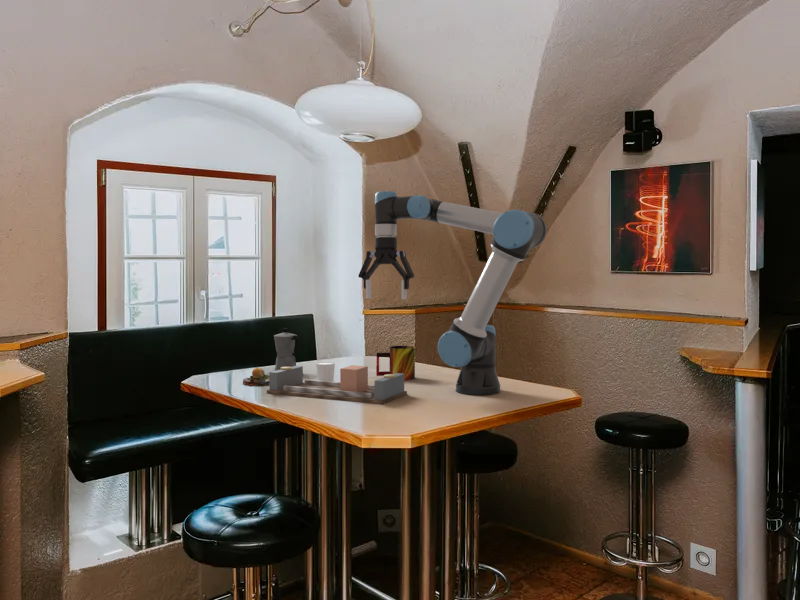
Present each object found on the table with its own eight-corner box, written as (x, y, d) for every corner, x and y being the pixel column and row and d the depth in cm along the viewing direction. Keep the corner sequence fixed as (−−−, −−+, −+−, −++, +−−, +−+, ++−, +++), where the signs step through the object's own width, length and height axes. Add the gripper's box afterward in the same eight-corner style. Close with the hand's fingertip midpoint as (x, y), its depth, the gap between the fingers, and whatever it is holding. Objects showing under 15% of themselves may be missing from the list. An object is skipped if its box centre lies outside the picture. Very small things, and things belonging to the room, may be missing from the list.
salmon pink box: (367, 390, 232) (367, 366, 231) (356, 394, 224) (356, 369, 224) (352, 388, 234) (352, 365, 234) (340, 392, 227) (340, 368, 227)
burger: (282, 382, 255) (282, 362, 255) (262, 387, 245) (262, 366, 244) (256, 380, 261) (256, 360, 260) (235, 385, 250) (235, 364, 250)
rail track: (406, 394, 231) (406, 386, 231) (383, 404, 215) (383, 396, 215) (296, 384, 250) (296, 377, 250) (266, 393, 233) (266, 385, 233)
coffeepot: (266, 371, 279) (266, 327, 278) (286, 369, 285) (286, 326, 284) (288, 376, 267) (287, 330, 266) (308, 373, 274) (307, 328, 273)
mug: (375, 378, 262) (375, 347, 262) (406, 375, 270) (406, 345, 269) (388, 382, 254) (388, 350, 254) (419, 379, 261) (419, 347, 261)
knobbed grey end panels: (405, 391, 230) (405, 372, 230) (384, 400, 216) (384, 379, 215) (294, 382, 249) (294, 364, 248) (268, 389, 234) (268, 370, 234)
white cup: (331, 384, 251) (331, 364, 250) (313, 383, 252) (313, 364, 252) (337, 380, 258) (337, 362, 257) (319, 380, 259) (319, 361, 259)
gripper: (423, 236, 235) (423, 298, 236) (358, 238, 245) (359, 297, 247) (414, 235, 228) (415, 299, 229) (348, 237, 239) (349, 298, 240)
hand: (386, 298), depth 238 cm, fingers open, 13 cm apart
